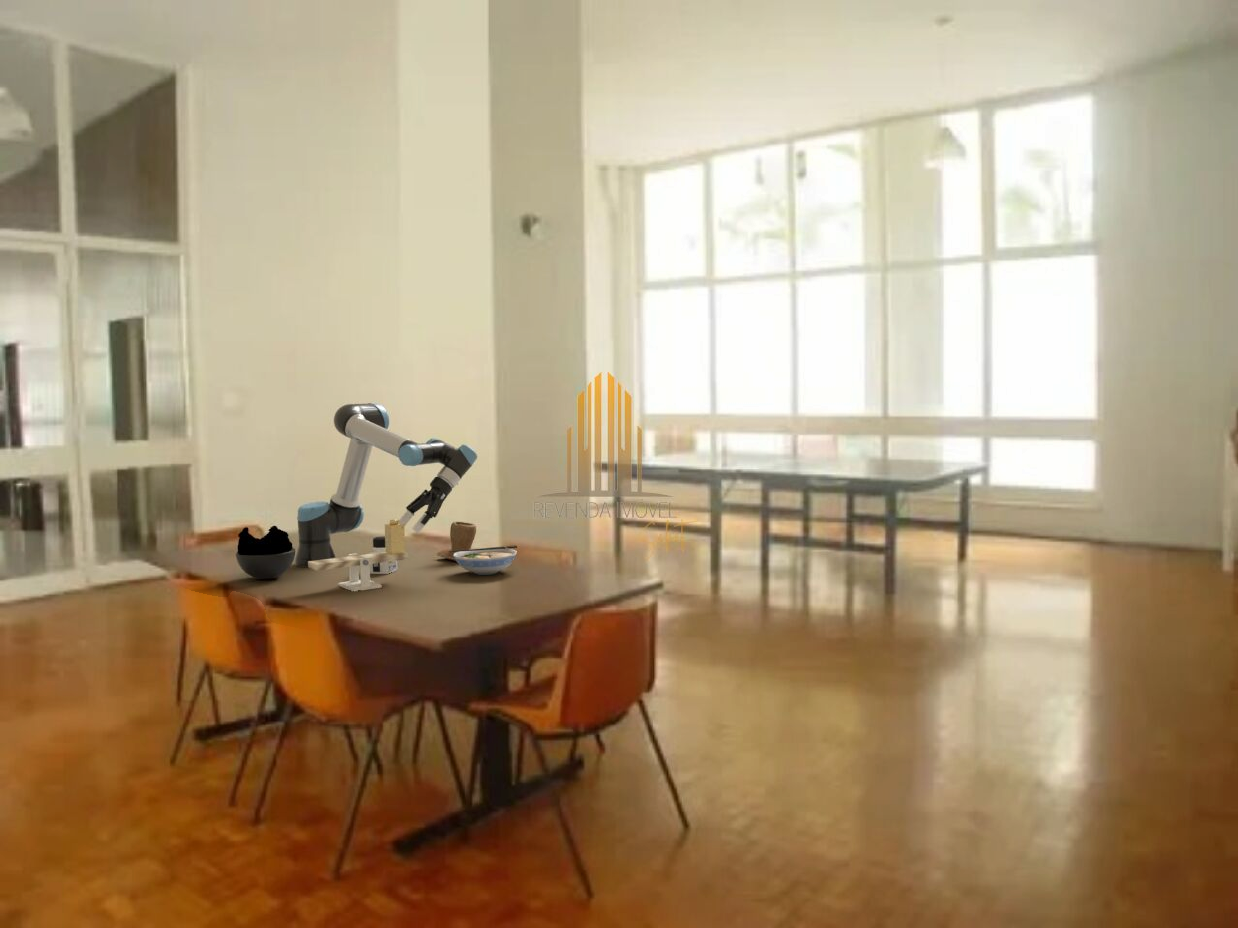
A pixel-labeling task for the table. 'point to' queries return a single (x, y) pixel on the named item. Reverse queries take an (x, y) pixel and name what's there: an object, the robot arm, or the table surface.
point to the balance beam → (354, 560)
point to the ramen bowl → (485, 559)
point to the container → (384, 566)
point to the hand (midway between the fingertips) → (406, 528)
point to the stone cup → (459, 538)
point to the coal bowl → (265, 553)
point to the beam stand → (364, 581)
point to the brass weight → (394, 537)
